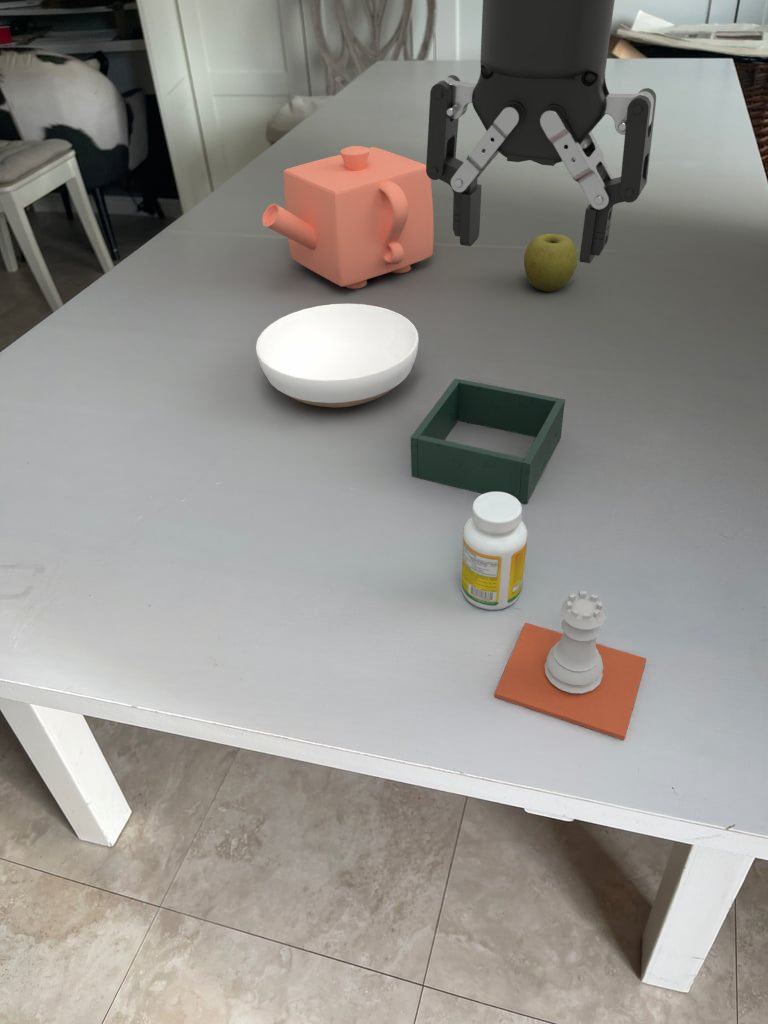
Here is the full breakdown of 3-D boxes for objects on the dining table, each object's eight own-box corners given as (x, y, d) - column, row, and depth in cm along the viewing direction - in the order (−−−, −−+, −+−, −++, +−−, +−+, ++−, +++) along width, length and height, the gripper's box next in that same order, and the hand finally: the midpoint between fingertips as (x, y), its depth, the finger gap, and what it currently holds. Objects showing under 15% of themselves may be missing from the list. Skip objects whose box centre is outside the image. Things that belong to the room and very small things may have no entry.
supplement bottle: (472, 617, 69) (475, 533, 63) (453, 575, 73) (454, 492, 67) (531, 604, 70) (540, 520, 64) (509, 564, 74) (515, 481, 68)
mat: (645, 662, 65) (646, 658, 64) (624, 740, 59) (625, 736, 59) (525, 626, 68) (525, 622, 68) (494, 697, 63) (494, 693, 62)
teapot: (315, 322, 114) (301, 193, 102) (238, 273, 128) (219, 155, 117) (451, 273, 124) (452, 152, 113) (367, 233, 139) (360, 122, 127)
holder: (560, 437, 89) (565, 399, 86) (526, 504, 81) (530, 464, 77) (454, 415, 94) (454, 377, 90) (411, 476, 85) (410, 437, 82)
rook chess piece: (614, 681, 63) (629, 610, 58) (569, 706, 61) (581, 635, 56) (576, 644, 66) (587, 573, 61) (532, 667, 64) (540, 596, 59)
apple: (580, 279, 121) (585, 232, 116) (565, 301, 115) (571, 252, 111) (531, 272, 123) (534, 226, 119) (515, 293, 118) (518, 246, 113)
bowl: (232, 382, 102) (224, 338, 98) (353, 332, 111) (350, 289, 107) (325, 447, 90) (320, 400, 86) (452, 384, 99) (452, 339, 95)
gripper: (690, -34, 46) (641, 244, 56) (456, -39, 51) (450, 218, 61) (667, -13, 41) (617, 288, 51) (408, -21, 46) (411, 256, 56)
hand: (526, 250), depth 56 cm, fingers open, 8 cm apart
